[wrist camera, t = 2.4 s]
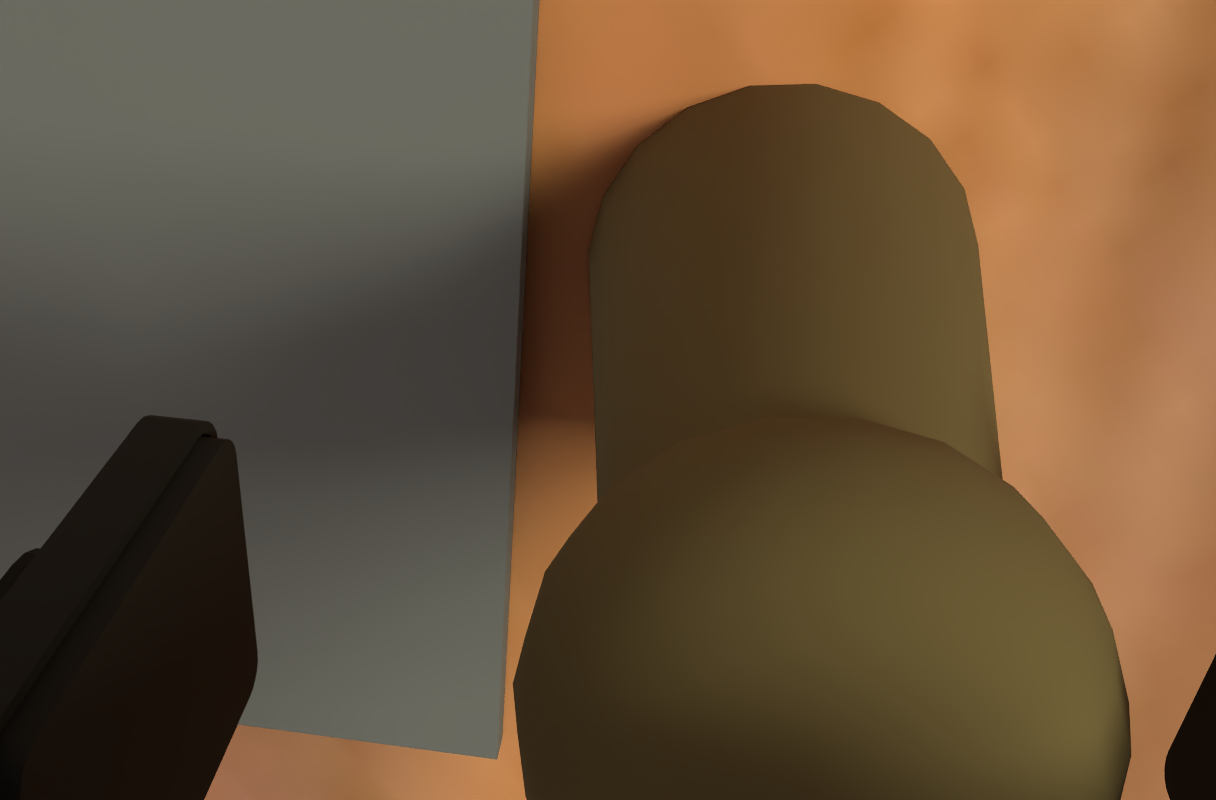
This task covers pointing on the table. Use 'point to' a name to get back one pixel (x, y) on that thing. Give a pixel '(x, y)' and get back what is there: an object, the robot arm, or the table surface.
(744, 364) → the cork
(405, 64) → the slate mat
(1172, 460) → the table surface
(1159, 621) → the table surface
